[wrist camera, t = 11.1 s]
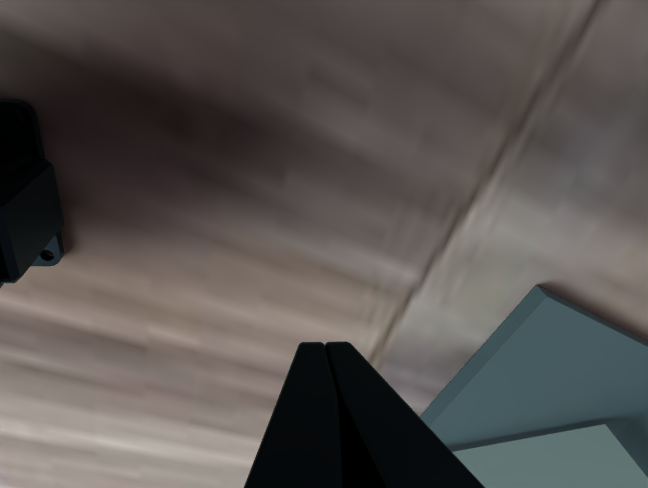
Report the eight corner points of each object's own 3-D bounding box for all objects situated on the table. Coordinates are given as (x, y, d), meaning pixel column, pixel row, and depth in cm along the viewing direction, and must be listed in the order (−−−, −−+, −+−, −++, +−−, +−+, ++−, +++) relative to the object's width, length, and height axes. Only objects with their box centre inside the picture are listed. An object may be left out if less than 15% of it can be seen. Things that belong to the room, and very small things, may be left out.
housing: (392, 447, 28) (412, 512, 25) (536, 284, 23) (585, 337, 20) (542, 491, 32) (577, 551, 29) (689, 362, 28) (751, 416, 24)
